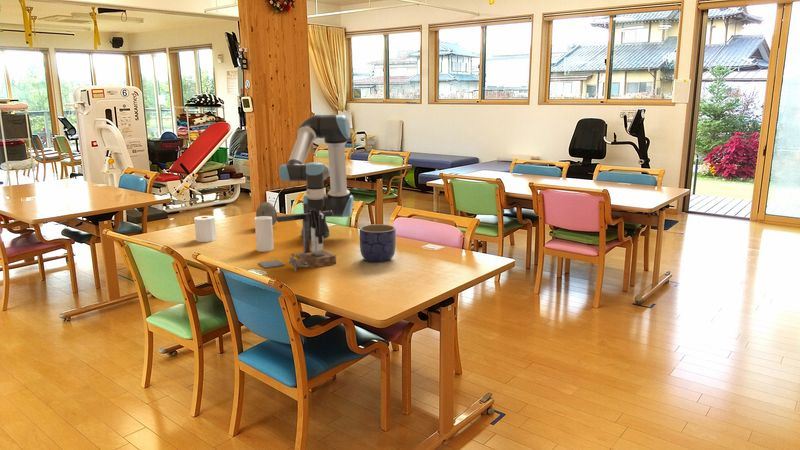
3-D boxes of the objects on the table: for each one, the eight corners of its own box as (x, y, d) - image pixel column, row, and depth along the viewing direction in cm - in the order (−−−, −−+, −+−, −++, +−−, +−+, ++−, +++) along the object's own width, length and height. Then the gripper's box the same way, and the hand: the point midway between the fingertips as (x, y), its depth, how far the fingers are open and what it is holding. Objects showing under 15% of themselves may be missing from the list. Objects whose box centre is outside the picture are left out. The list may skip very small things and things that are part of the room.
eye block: (324, 257, 264) (323, 250, 263) (335, 263, 254) (335, 255, 253) (300, 261, 257) (299, 253, 256) (311, 267, 247) (310, 260, 247)
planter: (368, 266, 249) (368, 233, 246) (354, 257, 263) (353, 226, 260) (402, 261, 256) (402, 229, 253) (386, 253, 271) (385, 222, 267)
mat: (277, 260, 258) (277, 259, 258) (284, 265, 251) (284, 264, 250) (258, 264, 253) (257, 262, 253) (265, 268, 246) (265, 267, 246)
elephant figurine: (312, 270, 244) (295, 267, 238) (305, 278, 247) (287, 275, 241) (307, 252, 249) (290, 248, 243) (300, 260, 252) (283, 256, 246)
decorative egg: (275, 230, 319) (273, 203, 316) (254, 230, 319) (252, 203, 316) (279, 225, 330) (278, 200, 327) (259, 225, 331) (258, 200, 327)
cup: (269, 252, 273) (267, 219, 269) (253, 251, 275) (251, 219, 271) (276, 247, 281) (274, 216, 277) (260, 247, 282) (259, 215, 279)
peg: (320, 258, 258) (318, 226, 255) (323, 260, 255) (322, 228, 252) (312, 259, 256) (310, 227, 253) (315, 261, 253) (314, 229, 249)
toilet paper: (191, 241, 294) (189, 218, 291) (205, 236, 303) (203, 214, 301) (207, 243, 290) (205, 220, 288) (220, 238, 300) (218, 216, 297)
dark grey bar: (275, 223, 256) (275, 215, 255) (331, 217, 270) (331, 209, 269) (277, 224, 253) (277, 216, 253) (334, 218, 267) (334, 210, 266)
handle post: (311, 253, 271) (309, 218, 267) (318, 257, 264) (317, 221, 260) (295, 255, 266) (294, 220, 263) (302, 259, 260) (301, 223, 256)
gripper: (299, 195, 254) (302, 246, 259) (316, 201, 240) (318, 254, 245) (315, 194, 258) (317, 243, 263) (332, 199, 244) (333, 252, 249)
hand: (317, 248), depth 254 cm, fingers closed on peg, 4 cm apart
